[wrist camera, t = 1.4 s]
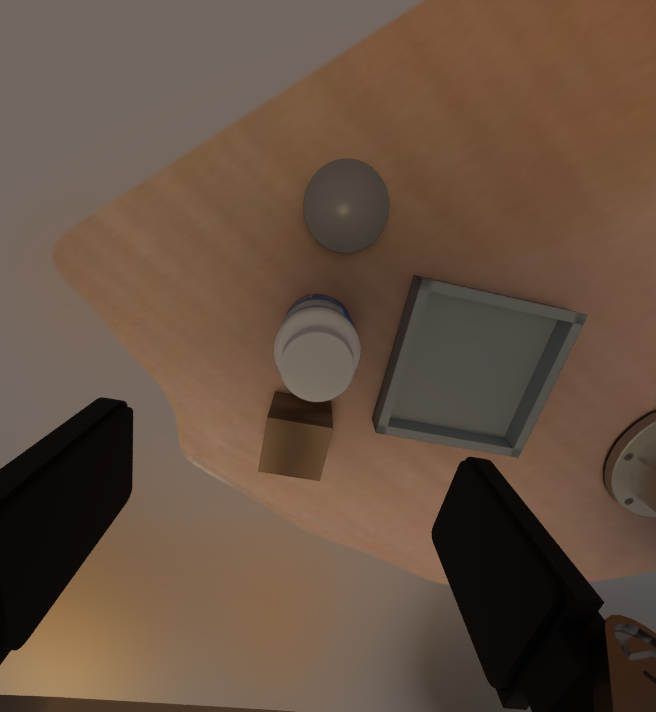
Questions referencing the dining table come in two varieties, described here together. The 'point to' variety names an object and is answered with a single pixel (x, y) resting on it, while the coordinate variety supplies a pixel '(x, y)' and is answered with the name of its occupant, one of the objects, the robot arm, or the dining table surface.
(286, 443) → the walnut block
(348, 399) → the dining table surface
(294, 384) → the pill bottle
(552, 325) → the slate tray
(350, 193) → the smooth grey pebble
